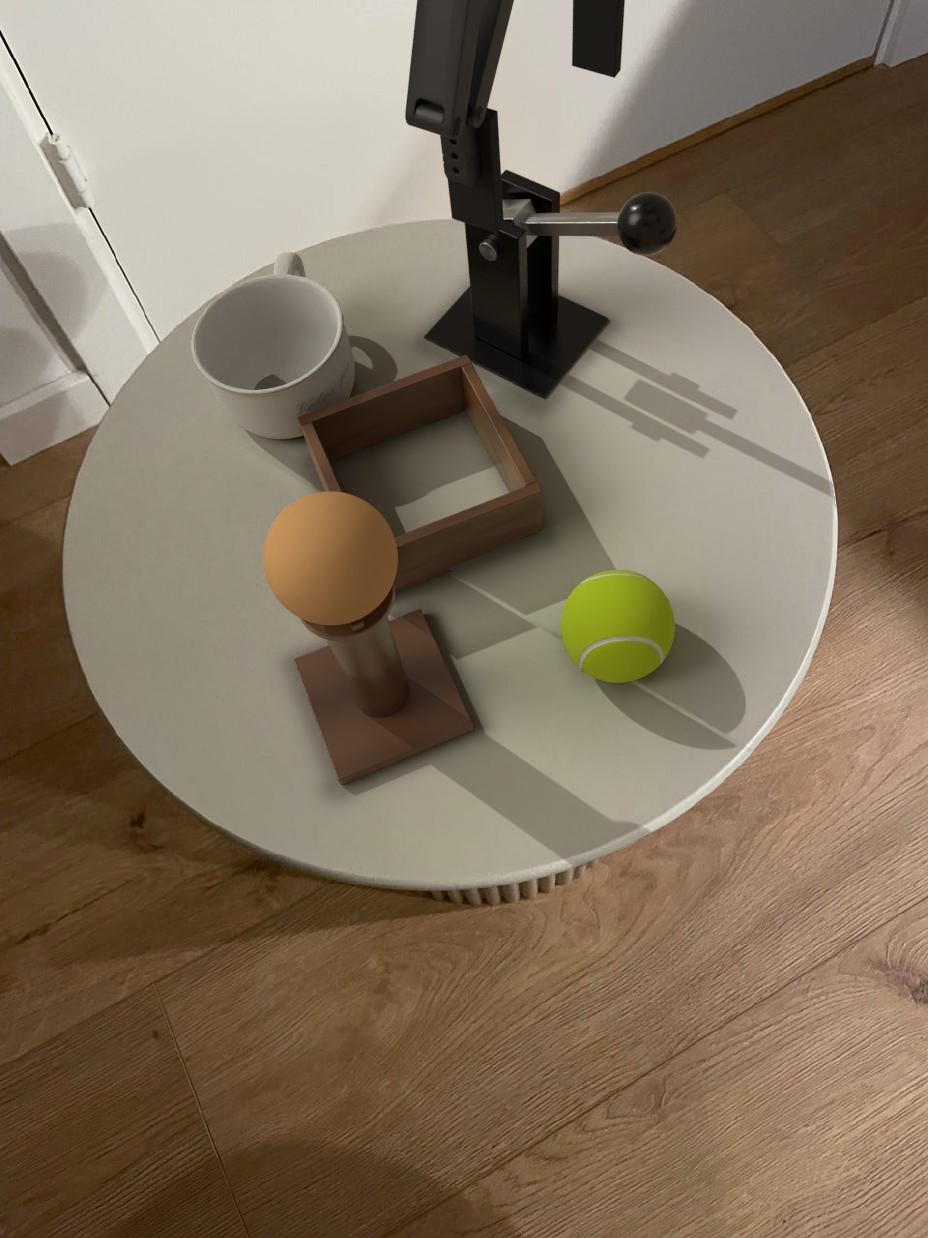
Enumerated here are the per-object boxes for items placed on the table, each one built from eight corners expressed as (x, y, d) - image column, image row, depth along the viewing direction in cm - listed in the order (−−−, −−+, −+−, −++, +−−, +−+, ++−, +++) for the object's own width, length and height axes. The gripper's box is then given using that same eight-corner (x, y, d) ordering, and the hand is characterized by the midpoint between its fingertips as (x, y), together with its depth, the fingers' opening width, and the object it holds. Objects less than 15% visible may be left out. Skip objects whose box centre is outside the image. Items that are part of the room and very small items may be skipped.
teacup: (335, 471, 73) (312, 401, 66) (199, 444, 75) (163, 373, 68) (392, 329, 79) (377, 250, 71) (265, 307, 81) (238, 228, 73)
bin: (542, 537, 69) (542, 491, 64) (372, 605, 68) (358, 562, 62) (472, 407, 75) (467, 353, 69) (314, 466, 73) (296, 416, 68)
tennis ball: (673, 697, 63) (687, 651, 57) (563, 701, 64) (565, 656, 57) (662, 600, 66) (674, 546, 60) (557, 604, 67) (558, 551, 60)
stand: (474, 731, 63) (455, 624, 49) (341, 787, 62) (284, 693, 48) (422, 616, 67) (392, 487, 53) (296, 666, 66) (232, 548, 52)
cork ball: (424, 618, 50) (408, 552, 44) (303, 666, 50) (271, 606, 44) (380, 519, 53) (360, 445, 47) (264, 563, 52) (230, 494, 47)
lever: (694, 231, 61) (679, 177, 58) (664, 268, 60) (647, 215, 57) (521, 231, 70) (502, 184, 68) (492, 263, 69) (472, 217, 67)
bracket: (608, 328, 77) (619, 191, 66) (543, 407, 74) (544, 277, 63) (491, 273, 80) (483, 134, 69) (425, 346, 78) (405, 213, 66)
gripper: (595, -523, 41) (582, -4, 60) (244, -232, 32) (359, 270, 51) (767, -508, 39) (698, 26, 58) (443, -191, 30) (486, 318, 49)
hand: (539, 141), depth 54 cm, fingers open, 13 cm apart
